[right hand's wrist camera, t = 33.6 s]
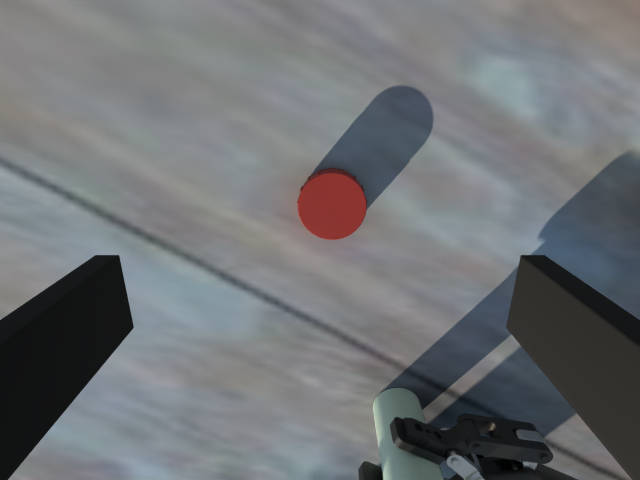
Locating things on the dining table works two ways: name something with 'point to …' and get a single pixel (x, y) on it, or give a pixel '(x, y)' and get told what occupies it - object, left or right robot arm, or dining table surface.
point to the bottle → (397, 465)
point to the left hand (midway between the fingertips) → (378, 453)
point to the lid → (332, 204)
